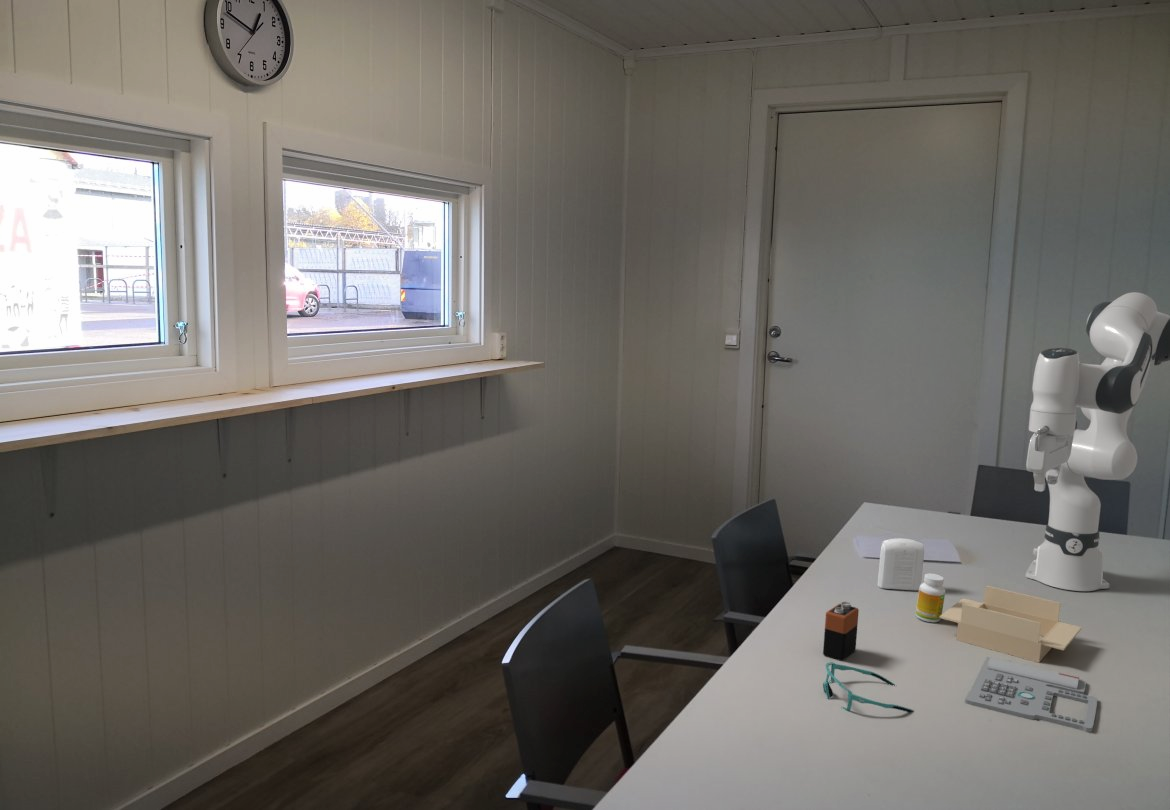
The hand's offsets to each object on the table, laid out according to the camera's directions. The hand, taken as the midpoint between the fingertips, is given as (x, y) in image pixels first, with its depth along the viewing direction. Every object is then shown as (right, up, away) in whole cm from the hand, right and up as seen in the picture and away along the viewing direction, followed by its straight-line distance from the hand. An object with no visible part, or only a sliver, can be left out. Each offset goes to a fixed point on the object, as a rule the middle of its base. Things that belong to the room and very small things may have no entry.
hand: (1045, 487), depth 198 cm
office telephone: (-18, -36, -31) cm, 50 cm away
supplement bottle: (-24, -30, +5) cm, 38 cm away
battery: (-49, -32, -15) cm, 60 cm away
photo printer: (-23, -27, +25) cm, 43 cm away
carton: (-11, -32, -6) cm, 34 cm away
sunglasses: (-50, -35, -34) cm, 70 cm away
